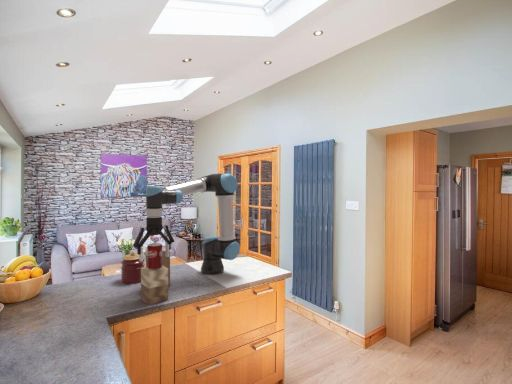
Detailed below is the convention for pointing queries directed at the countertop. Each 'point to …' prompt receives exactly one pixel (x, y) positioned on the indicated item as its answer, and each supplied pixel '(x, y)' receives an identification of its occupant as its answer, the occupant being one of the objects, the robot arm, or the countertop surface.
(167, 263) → the block
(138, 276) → the canister
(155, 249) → the soda can
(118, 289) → the countertop surface
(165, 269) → the tower top
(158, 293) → the tower base
